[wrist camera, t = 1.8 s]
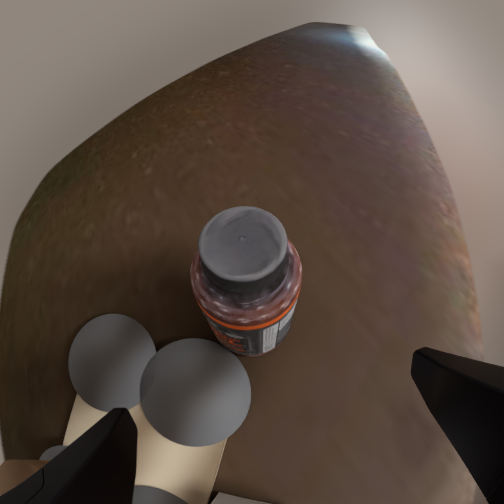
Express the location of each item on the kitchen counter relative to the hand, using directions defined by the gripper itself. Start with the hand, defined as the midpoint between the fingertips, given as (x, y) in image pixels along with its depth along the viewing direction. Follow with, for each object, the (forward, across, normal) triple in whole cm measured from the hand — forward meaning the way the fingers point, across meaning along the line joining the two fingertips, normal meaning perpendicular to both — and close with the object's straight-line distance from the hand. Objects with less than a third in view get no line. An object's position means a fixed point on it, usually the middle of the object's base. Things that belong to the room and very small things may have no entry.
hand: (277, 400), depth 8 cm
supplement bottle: (+15, 0, +5) cm, 15 cm away
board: (+8, +10, +11) cm, 17 cm away
